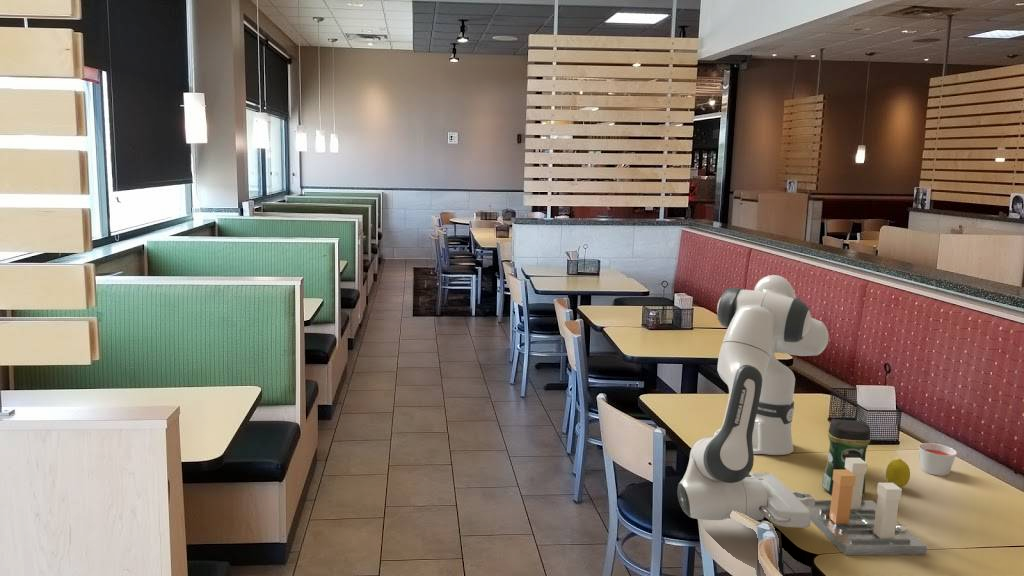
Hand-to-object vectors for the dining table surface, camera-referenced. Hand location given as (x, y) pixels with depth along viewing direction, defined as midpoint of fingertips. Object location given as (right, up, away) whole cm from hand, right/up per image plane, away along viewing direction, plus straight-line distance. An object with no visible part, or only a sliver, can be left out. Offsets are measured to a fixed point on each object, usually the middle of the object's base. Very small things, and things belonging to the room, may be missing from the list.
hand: (812, 499), depth 176 cm
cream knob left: (+12, -4, +9) cm, 16 cm away
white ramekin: (+48, -3, +39) cm, 62 cm away
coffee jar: (+16, -4, +23) cm, 29 cm away
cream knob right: (+14, -7, -5) cm, 16 cm away
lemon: (+31, -4, +26) cm, 41 cm away
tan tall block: (+7, -5, +1) cm, 8 cm away
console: (+11, -7, +2) cm, 14 cm away
